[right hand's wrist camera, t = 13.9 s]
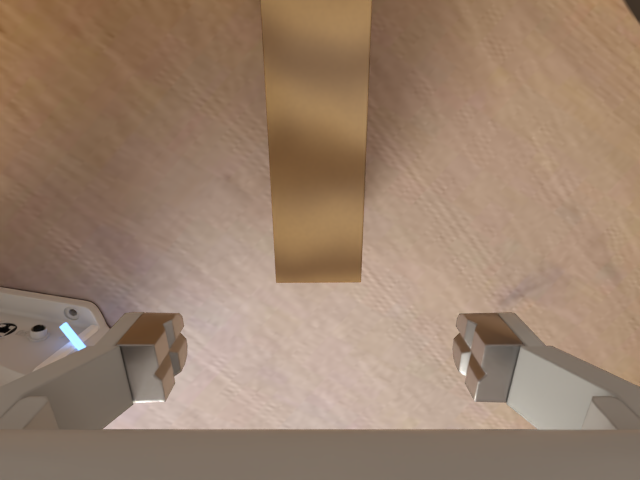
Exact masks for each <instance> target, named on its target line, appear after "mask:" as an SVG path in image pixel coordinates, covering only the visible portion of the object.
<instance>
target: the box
mask: <svg viewBox="0 0 640 480" xmlns="http://www.w3.org/2000/svg"><path fill="white" fill-rule="evenodd" d="M260 3H261V21H262V39H263V57H264V74H265V92H266V110H267V128H268V145H269V163H270V181H271V199H272V216H273V234H274V252H275V269H276V283H317V282H361V268H362V242H363V217H364V191H365V166H366V141H367V115H368V90H369V64H370V39H371V13H372V0H260Z"/></svg>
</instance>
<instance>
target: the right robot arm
mask: <svg viewBox="0 0 640 480" xmlns="http://www.w3.org/2000/svg"><path fill="white" fill-rule="evenodd" d="M74 310H75V311H76V312H75V311H74ZM183 327H184V323H183V318H182V316H181V315H180V313H147V312H146V313H144V312H129V313H125V314H124V315H123V316H122V317H121V318H120V319H119V320H118V321H117V322H116V323H115V324H114V325H113V326H112V328H111V329H110V328H109V327H108V326H107V324H106V322H105V320H104V318H103V316H102V314H101V312H100V310H99V309H98V307H97V306H96V305H95V304H93V303H92V302H89V301H84V300H78V299H72V298H66V297H60V296H53V295H47V294H41V293H35V292H28V291H22V290H16V289H10V288H4V287H0V480H640V387H639V386H637V385H634V384H632V383H630V382H628V381H626V380H624V379H622V378H619V377H617V376H615V375H613V374H611V373H609V372H607V371H604V370H602V369H600V368H598V367H596V366H594V365H592V364H589V363H587V362H585V361H583V360H581V359H579V358H577V357H574V356H572V355H570V354H568V353H566V352H564V351H562V350H559V349H557V348H555V347H553V346H546V345H545V344H544V343H543V342H542V341H541V340H540V339H539V338H538V337H537V336H536V335H535V334H534V333H533V332H532V331H531V330H530V329H529V327H528V326H527V325H526V324H525V323H524V322H523V321H522V320H521V319H520V318H519V317H518V316H517V315H516V314H514V313H512V312H501V313H469V314H459V316H458V318H457V322H456V327H457V329H458V330H459V332H460V333H459V334H458V335H457V336H456V337H455V338H454V341H453V358H454V362H455V365H456V367H457V369H458V371H459V372H460V373H462V374H463V375H465V376H466V379H465V384H466V386H467V388H468V390H469V392H470V394H471V396H472V398H473V399H474V401H475V402H507V405H508V406H510V407H511V408H512V409H513V410H515V411H516V412H517V413H518V414H520V415H521V416H522V417H523V418H525V419H526V420H527V421H528V422H529V423H531V424H532V425H533V426H534V427H536V428H537V429H103V428H104V427H106V426H107V425H108V424H109V423H111V422H112V421H113V420H114V419H116V418H117V417H118V416H119V415H121V414H122V413H123V412H124V411H126V410H127V409H128V408H129V407H130V406H132V405H133V402H165V401H166V400H167V398H168V396H169V394H170V392H171V390H172V388H173V386H174V384H175V379H174V376H175V375H177V374H178V373H180V372H181V371H182V369H183V367H184V365H185V362H186V357H187V340H186V338H185V337H184V336H183V335H182V334H181V333H180V332H181V330H182V329H183Z"/></svg>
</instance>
